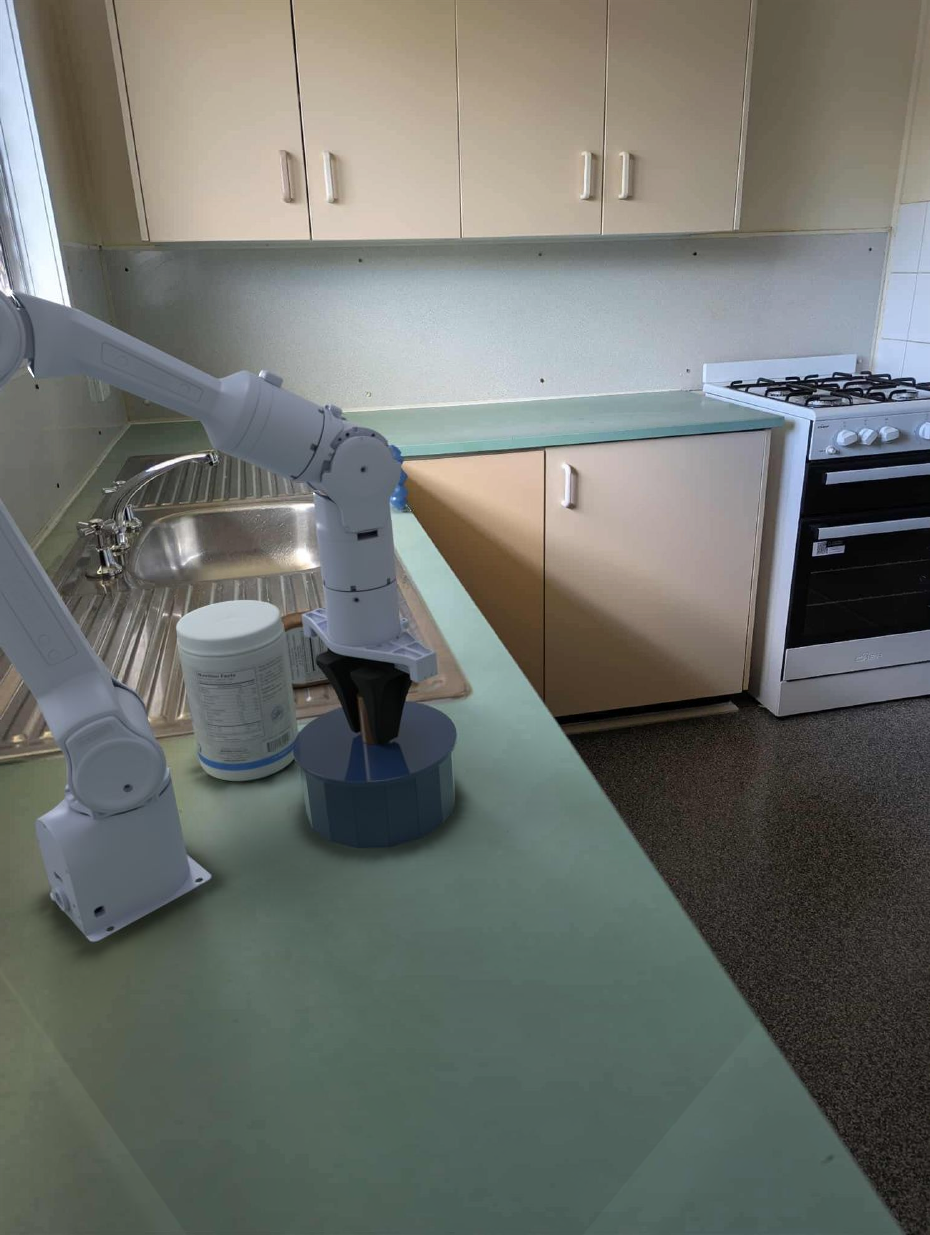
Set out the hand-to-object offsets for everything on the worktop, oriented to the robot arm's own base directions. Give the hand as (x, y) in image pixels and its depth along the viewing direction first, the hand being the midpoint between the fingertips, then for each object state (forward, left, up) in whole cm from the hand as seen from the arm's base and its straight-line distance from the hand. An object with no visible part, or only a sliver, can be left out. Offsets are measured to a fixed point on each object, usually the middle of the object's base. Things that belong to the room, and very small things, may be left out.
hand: (374, 733), depth 73 cm
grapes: (+67, +77, -8) cm, 103 cm away
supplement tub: (-3, +16, -8) cm, 18 cm away
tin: (+13, +24, -8) cm, 28 cm away
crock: (0, 0, -7) cm, 7 cm away
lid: (0, 0, -1) cm, 1 cm away
